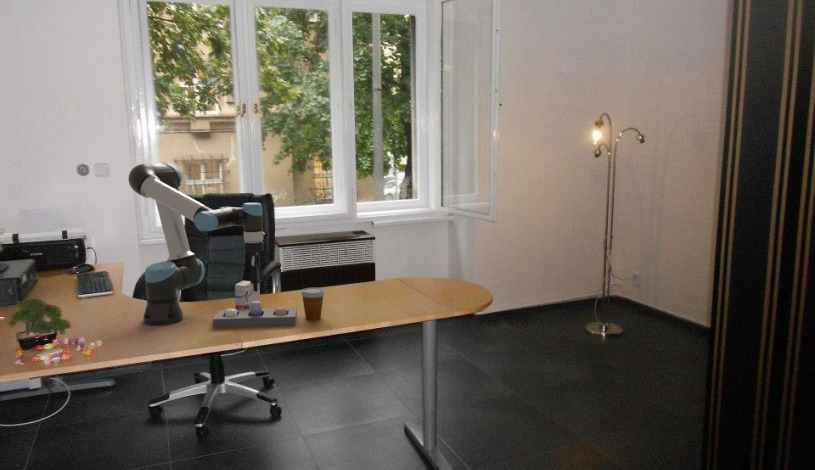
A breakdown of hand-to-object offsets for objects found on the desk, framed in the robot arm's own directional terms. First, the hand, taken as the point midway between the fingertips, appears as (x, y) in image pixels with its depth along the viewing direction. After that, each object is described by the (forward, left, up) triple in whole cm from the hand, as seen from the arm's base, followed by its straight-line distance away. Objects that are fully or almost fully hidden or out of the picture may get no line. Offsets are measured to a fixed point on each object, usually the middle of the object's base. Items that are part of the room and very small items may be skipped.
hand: (256, 298), depth 241 cm
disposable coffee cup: (+23, +3, -10) cm, 25 cm away
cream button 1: (-10, 0, -10) cm, 14 cm away
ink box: (-7, +19, -10) cm, 23 cm away
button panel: (0, 0, -10) cm, 10 cm away
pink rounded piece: (+10, 0, -10) cm, 14 cm away
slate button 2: (0, 0, -7) cm, 7 cm away
